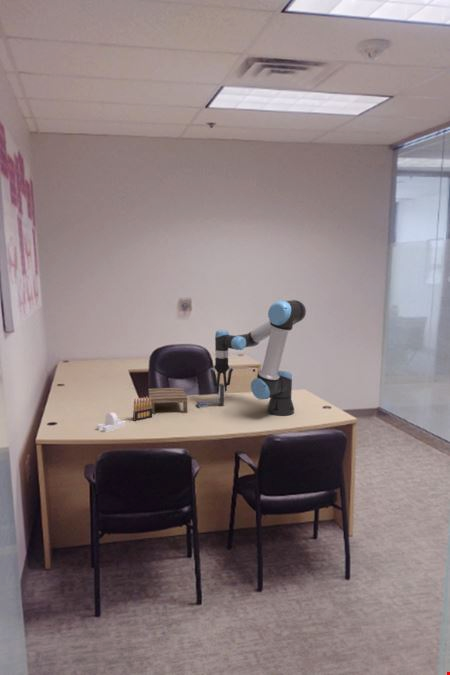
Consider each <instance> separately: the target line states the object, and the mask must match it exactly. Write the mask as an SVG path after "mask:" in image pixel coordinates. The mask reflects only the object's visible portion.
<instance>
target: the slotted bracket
mask: <svg viewBox="0 0 450 675" xmlns="http://www.w3.org/2000/svg"><path fill="white" fill-rule="evenodd" d="M124 426H125V427H127V422H126V421H125V420H121V419H120V418H118V415H117V414H116V413H115V412H112V411H111V412H109V413H106V414H105V419H104V422H103V423H102V422H101V423H99V424H97V431H102V432H103V433H109V432H112V431H115V430H114V429H116V430H119V429H122V428H125V427H124ZM121 427H122V428H121ZM118 428H119V429H118ZM102 429H103V430H102Z"/></svg>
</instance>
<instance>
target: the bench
mask: <svg viewBox="0 0 450 675" xmlns="http://www.w3.org/2000/svg"><path fill="white" fill-rule="evenodd" d="M149 396H150V397H151V408H152V414H153V415H155V404H157V403H161V404H162V403H163V404H164V403H178V402H179V403H182V404H183V406H182V408H183V409H182V412H183V414H187V413H188V397H187V395H186V392H185V390H184V388H183V387H161V388H158V387H157V388H148V397H149Z"/></svg>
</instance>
